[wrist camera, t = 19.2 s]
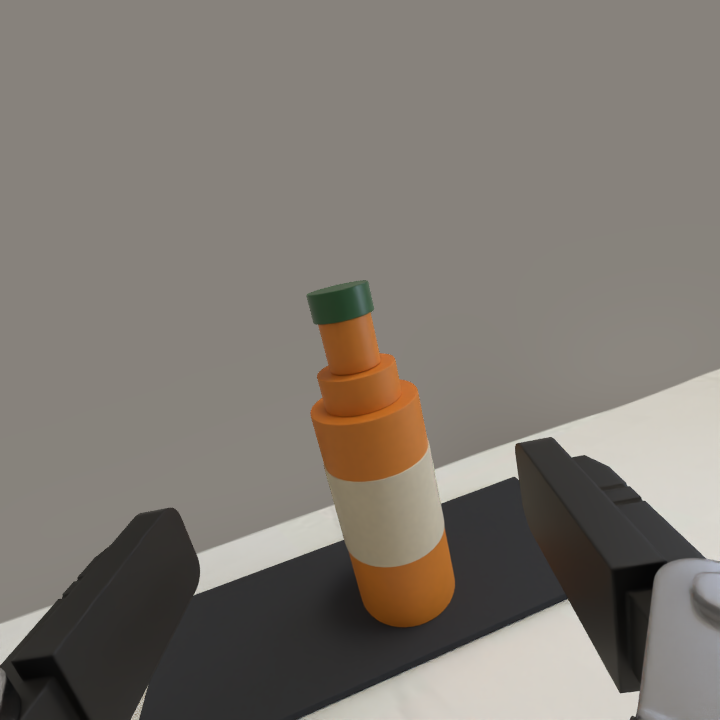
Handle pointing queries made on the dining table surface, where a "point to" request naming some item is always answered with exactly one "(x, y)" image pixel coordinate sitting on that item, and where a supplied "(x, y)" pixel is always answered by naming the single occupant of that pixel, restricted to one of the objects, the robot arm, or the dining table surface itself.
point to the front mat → (343, 621)
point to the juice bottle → (379, 465)
